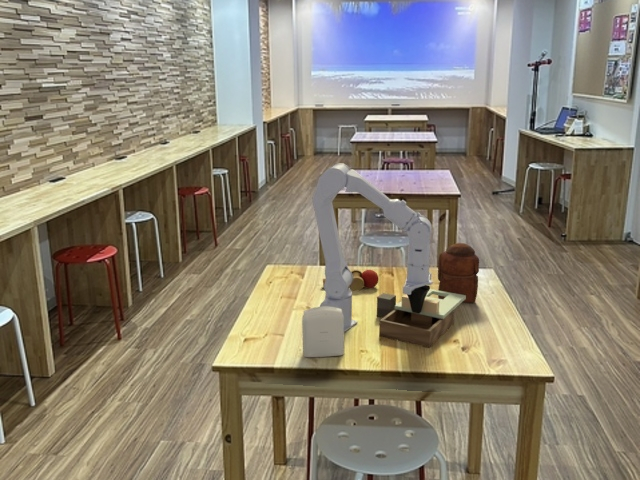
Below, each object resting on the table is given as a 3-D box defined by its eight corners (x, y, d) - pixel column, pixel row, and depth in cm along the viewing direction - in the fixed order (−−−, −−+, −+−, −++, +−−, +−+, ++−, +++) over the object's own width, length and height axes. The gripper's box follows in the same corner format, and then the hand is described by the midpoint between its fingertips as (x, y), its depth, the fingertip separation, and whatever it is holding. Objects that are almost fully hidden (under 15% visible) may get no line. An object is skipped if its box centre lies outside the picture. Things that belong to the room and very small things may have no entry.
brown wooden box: (429, 347, 155) (429, 331, 154) (379, 336, 162) (379, 320, 161) (453, 324, 170) (454, 309, 169) (406, 314, 177) (407, 299, 176)
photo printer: (303, 359, 149) (302, 311, 146) (301, 351, 153) (301, 304, 150) (345, 357, 150) (345, 309, 147) (342, 349, 154) (343, 303, 151)
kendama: (324, 296, 196) (380, 288, 196) (321, 276, 196) (377, 269, 195) (324, 292, 204) (378, 285, 203) (322, 273, 204) (376, 266, 203)
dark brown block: (389, 319, 173) (390, 299, 172) (376, 316, 176) (377, 297, 174) (395, 315, 177) (396, 295, 175) (382, 312, 179) (383, 293, 177)
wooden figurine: (474, 297, 191) (477, 241, 187) (477, 304, 185) (481, 246, 180) (435, 295, 192) (438, 240, 188) (437, 303, 186) (440, 245, 182)
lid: (443, 319, 162) (444, 304, 161) (394, 308, 169) (395, 295, 168) (465, 298, 176) (466, 285, 175) (420, 290, 184) (420, 277, 183)
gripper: (422, 273, 152) (419, 324, 156) (443, 258, 164) (440, 306, 168) (395, 268, 156) (394, 318, 159) (418, 255, 168) (416, 301, 171)
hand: (416, 312), depth 164 cm, fingers closed
